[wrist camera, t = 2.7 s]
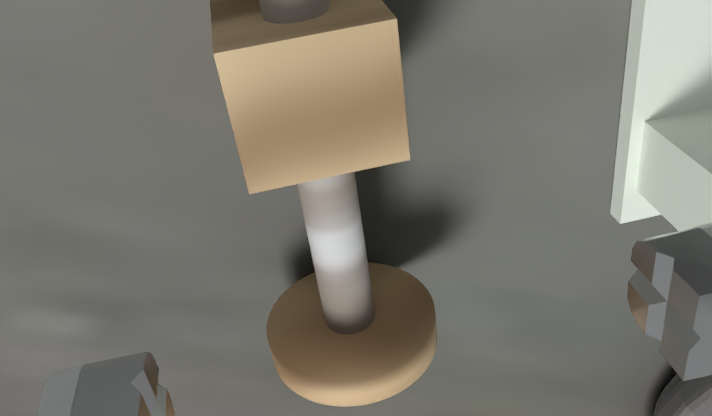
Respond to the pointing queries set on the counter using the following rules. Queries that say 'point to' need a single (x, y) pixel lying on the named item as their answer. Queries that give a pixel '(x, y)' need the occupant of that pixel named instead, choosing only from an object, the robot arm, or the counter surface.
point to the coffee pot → (686, 398)
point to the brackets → (666, 115)
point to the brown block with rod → (327, 185)
